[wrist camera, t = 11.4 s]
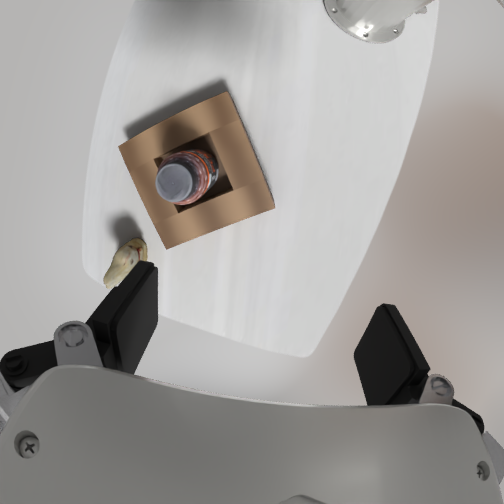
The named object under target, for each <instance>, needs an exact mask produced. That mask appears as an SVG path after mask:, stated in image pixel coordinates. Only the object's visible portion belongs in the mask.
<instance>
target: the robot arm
mask: <svg viewBox="0 0 504 504" xmlns="http://www.w3.org/2000/svg"><path fill="white" fill-rule="evenodd" d="M432 1H434V0H324V4H325V7H326V10H327V12H328V14H329V16H330V17H331V18H332V20H333V21H334V22H335V23H336V24H337V25H338V26H339V27H340V28H341V29H342V30H344V31H345V32H346V33H348V34H350V35H351V36H353V37H355V38H357V39H360V40H362V41H366V42H370V43H386V42H390V41H392V40H394V39H396V38H397V37H398V36H399V35H400V34H401V33H402V32H403V29H404V26H405V19H406V18H408V17H409V16H411V15H412V14H414V13H416V14H425V13H426V12H427V9H426V5H427V4H429V3H431V2H432ZM497 1H498V2H499V3H500V4H501V5H502V7H504V0H497ZM363 35H364V36H365V37H364V36H363ZM157 322H158V268H157V267H154V263H152V262H147V261H143V260H140V261H138V263H137V264H136V265H135V266H134V267H133V269H132V270H131V271H130V272H129V273H128V275H127V276H126V277H125V278H124V279H123V281H122V282H121V283H120V284H119V286H118V287H117V286H116V287H114V288H113V289H112V290H111V291H110V293H109V294H108V295H107V296H106V297H105V299H104V300H103V301H102V302H101V304H100V305H99V306H98V307H97V309H96V310H95V311H94V313H93V314H92V315H91V316H90V318H89V319H88V320H87V322H86V323H83V322H80V321H70V322H66V323H64V324H62V325H60V326H59V327H58V328H57V329H56V331H55V333H54V340H52V341H48V342H44V343H40V344H36V345H32V346H28V347H24V348H20V349H15V350H12V351H9V352H8V353H6V354H5V355H4V356H3V358H2V359H1V362H0V504H503V500H502V495H501V491H500V487H499V484H500V482H501V481H502V479H503V477H504V449H503V448H502V447H501V446H500V444H499V443H498V442H497V441H496V440H495V439H494V438H493V437H492V436H491V435H490V434H489V433H488V432H487V431H486V432H485V433H484V423H483V420H482V418H481V416H480V415H478V414H476V413H475V412H474V411H472V410H470V409H469V408H467V407H466V406H464V405H463V404H461V403H459V402H458V401H456V400H455V399H453V396H454V388H453V386H452V384H451V382H450V381H449V380H448V379H447V378H445V377H444V376H442V375H440V374H432V375H430V376H428V374H427V373H428V372H429V370H430V367H429V365H428V363H427V361H426V360H425V357H424V355H423V354H422V352H421V350H420V348H419V346H418V344H417V343H416V341H415V339H414V337H413V335H412V334H411V332H410V330H409V328H408V327H407V325H406V323H405V321H404V320H403V318H402V316H401V315H400V313H399V311H398V310H397V308H396V306H395V305H391V304H382V305H380V306H378V307H377V308H376V310H375V313H374V315H373V317H372V319H371V321H370V323H369V325H368V327H367V328H366V330H365V332H364V334H363V336H362V338H361V340H360V342H359V344H358V346H357V347H356V349H355V352H354V360H355V363H356V366H357V370H358V373H359V377H360V380H361V383H362V387H363V390H364V394H365V398H366V401H367V405H368V406H335V405H334V406H333V405H311V404H296V403H284V402H273V401H265V400H256V399H249V398H242V397H235V396H229V395H223V394H217V393H212V392H206V391H201V390H196V389H192V388H187V387H182V386H178V385H174V384H169V383H165V382H160V381H157V380H153V379H148V378H145V377H141V376H137V375H134V373H135V370H136V368H137V366H138V364H139V362H140V360H141V358H142V355H143V353H144V351H145V349H146V347H147V345H148V343H149V341H150V339H151V337H152V335H153V333H154V330H155V328H156V326H157Z"/></svg>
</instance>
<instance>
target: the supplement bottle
mask: <svg viewBox="0 0 504 504" xmlns="http://www.w3.org/2000/svg"><path fill="white" fill-rule="evenodd" d="M218 175H219V165H218V162H217V160H216V159H215V157H214V156H213V155H212V154H211V153H210V152H208V151H206V150H202V149H191V150H187V151H182V152H178V153H174V154H172V155H170V156H168V157H167V158H165V159H164V160H163V162H162V163H161V164H160V166H159V168H158V171H157V176H156V180H155V184H156V189H157V192H158V194H159V195H160V196H161V197H162V198H163V199H165V200H167V201H169V202H171V203H174V204H178V205H186V204H190V203H193V202H195V201H196V200H198V199H199V198H200V197H201V196H202V195H204V193H206V192H207V191H208V190H209V189H210V188H211V187H212V186H213V185H214V184H215V182H216V180H217V178H218Z"/></svg>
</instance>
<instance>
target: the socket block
mask: <svg viewBox="0 0 504 504" xmlns="http://www.w3.org/2000/svg"><path fill="white" fill-rule="evenodd" d="M118 147H119V150H120V152H121V154H122V157H123V159H124V161H125V164H126V166H127V168H128V171H129V173H130V175H131V177H132V180H133V182H134V184H135V186H136V188H137V191H138V193H139V195H140V197H141V199H142V201H143V203H144V206H145V208H146V210H147V212H148V214H149V216H150V218H151V220H152V222H153V224H154V226H155V228H156V230H157V232H158V234H159V236H160V238H161V240H162V242H163V244H164V246H165V248H166V250H167V249H169V248H172V247H174V246H177V245H179V244H182V243H184V242H187V241H189V240H192V239H194V238H197V237H199V236H202V235H205V234H207V233H210V232H212V231H215V230H218V229H220V228H223V227H225V226H228V225H231V224H233V223H236V222H239V221H241V220H244V219H247V218H249V217H252V216H255V215H258V214H260V213H263V212H266V211H269V210H271V209H274V208H275V204H274V200H273V197H272V194H271V192H270V189H269V187H268V184H267V182H266V179H265V177H264V174H263V171H262V169H261V167H260V164H259V162H258V159H257V157H256V154H255V152H254V149H253V147H252V144H251V142H250V140H249V137H248V135H247V132H246V130H245V128H244V125H243V123H242V120H241V118H240V116H239V113H238V111H237V109H236V106H235V104H234V102H233V100H232V97H231V95H230V94H229V93H228V92H227V91H226V92H224V93H221V94H219V95H216V96H214V97H212V98H209V99H207V100H205V101H203V102H200V103H198V104H196V105H194V106H192V107H190V108H188V109H185V110H183V111H181V112H179V113H177V114H175V115H173V116H171V117H169V118H167V119H165V120H164V121H162V122H160V123H158V124H156V125H154V126H152V127H151V128H149V129H147V130H145V131H143V132H142V133H140V134H138V135H136V136H135V137H133V138H131V139H130V140H128V141H126V142H125V143H123V144H121V145H120V146H118ZM191 149H202V150H206V151H208V152H210V153H211V154H212V155H213V156H214V157H215V159H216V160H217V162H218V165H219V175H218V178H217V180H216V182H215V184H214V185H213V186H212V187H211V188H210V189H209V190H208V191H207V192H206V193H204V195H202V196H201V197H200V198H199V199H198V200H196V201H195V202H193V203H190V204H186V205H178V204H174V203H171V202H169V201H167V200H165V199H163V198H162V197H161V196H160V195H159V194H158V192H157V189H156V184H155V180H156V176H157V171H158V168H159V166H160V164H161V163H162V162H163V160H164V159H165V158H167V157H168V156H170V155H172V154H174V153H178V152H182V151H187V150H191Z"/></svg>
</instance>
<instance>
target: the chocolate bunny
mask: <svg viewBox="0 0 504 504" xmlns="http://www.w3.org/2000/svg"><path fill="white" fill-rule="evenodd" d="M140 260H143V261H147V246H146V243H145V242H144V241H143V240H141V239H139V238H135V239H132V240H131V241H130V242H127V243H126V244H125V245H124V246H122V247H121V248H120V249H119V250H118V251H117V252H116V253H115V255H114V257H113V260H112V263H111V266H110V268H109V269H108V271H107V272H106V274H105V276H104V284H105V285H106V288H108V289H111V288H112V287H114V286H115V285H117V284H118V283H119V282H120V281H122V280H123V279H124V278H125V277H126V276H127V275H128V273H129V272H130V271H131V270H132V269H133V267H134V266H135V265H136V264H137V263H138V261H140Z"/></svg>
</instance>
